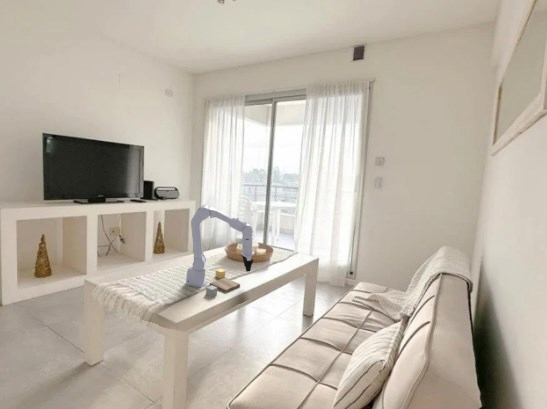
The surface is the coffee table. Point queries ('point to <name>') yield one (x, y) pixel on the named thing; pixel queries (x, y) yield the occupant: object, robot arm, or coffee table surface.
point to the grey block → (211, 291)
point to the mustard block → (220, 273)
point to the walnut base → (225, 285)
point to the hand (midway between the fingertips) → (247, 268)
